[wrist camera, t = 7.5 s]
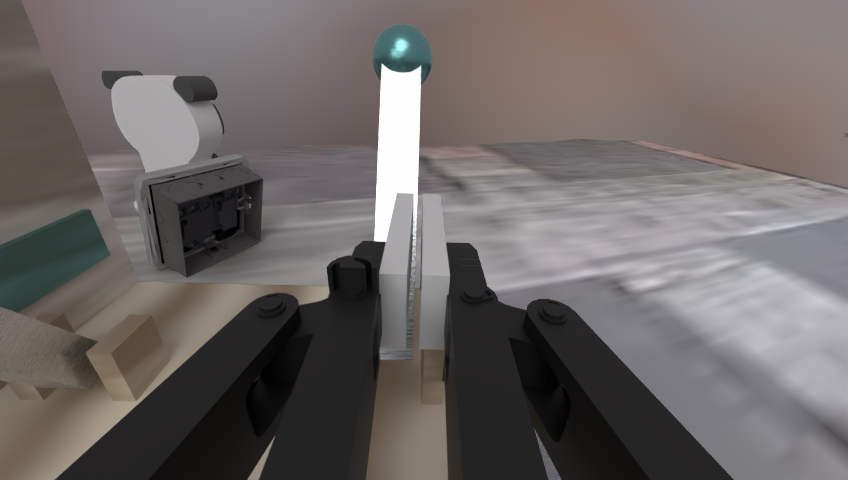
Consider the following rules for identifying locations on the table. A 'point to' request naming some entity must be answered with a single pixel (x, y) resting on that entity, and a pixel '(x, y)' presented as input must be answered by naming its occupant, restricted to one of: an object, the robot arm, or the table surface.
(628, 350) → the table surface
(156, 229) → the electrical switch
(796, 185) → the table surface
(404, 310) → the robot arm
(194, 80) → the panda figurine
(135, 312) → the switch unit
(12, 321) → the terracotta lever
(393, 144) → the teal lever
